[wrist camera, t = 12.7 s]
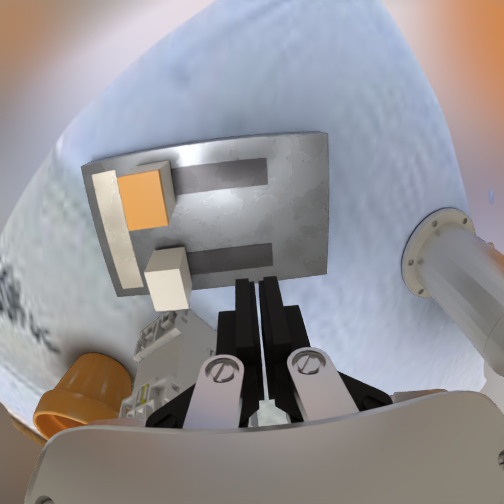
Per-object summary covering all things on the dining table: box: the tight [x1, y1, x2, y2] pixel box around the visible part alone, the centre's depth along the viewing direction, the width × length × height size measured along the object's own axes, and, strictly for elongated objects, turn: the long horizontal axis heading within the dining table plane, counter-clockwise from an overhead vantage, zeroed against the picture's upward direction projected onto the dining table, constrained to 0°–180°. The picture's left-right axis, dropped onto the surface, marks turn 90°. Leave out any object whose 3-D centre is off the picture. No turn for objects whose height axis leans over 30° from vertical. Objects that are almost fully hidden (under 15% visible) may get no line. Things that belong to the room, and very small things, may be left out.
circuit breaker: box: [119, 309, 258, 427], centre depth 30 cm, size 8×14×15 cm, turn 39°
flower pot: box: [33, 353, 132, 440], centre depth 32 cm, size 14×14×13 cm
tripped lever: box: [117, 160, 176, 231], centre depth 22 cm, size 3×4×5 cm
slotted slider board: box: [81, 131, 329, 297], centre depth 28 cm, size 22×14×3 cm, turn 95°
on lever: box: [144, 247, 192, 311], centre depth 26 cm, size 3×4×4 cm
